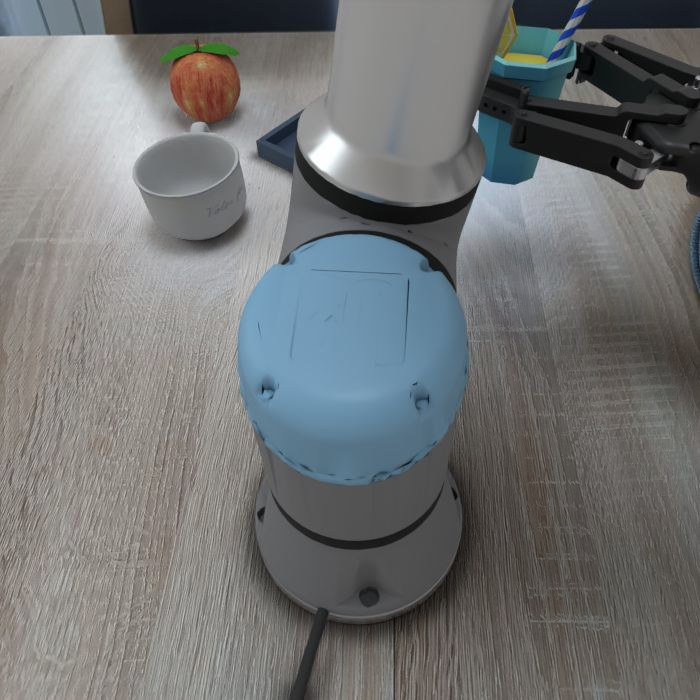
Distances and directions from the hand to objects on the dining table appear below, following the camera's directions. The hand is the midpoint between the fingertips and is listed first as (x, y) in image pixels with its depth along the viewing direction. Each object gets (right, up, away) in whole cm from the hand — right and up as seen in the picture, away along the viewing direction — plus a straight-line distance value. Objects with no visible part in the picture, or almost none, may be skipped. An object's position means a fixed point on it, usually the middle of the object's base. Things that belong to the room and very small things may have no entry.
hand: (478, 58), depth 53 cm
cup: (+4, -8, +5) cm, 10 cm away
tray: (-10, 0, +26) cm, 28 cm away
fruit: (-29, +7, +32) cm, 44 cm away
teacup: (-27, -9, +20) cm, 34 cm away
